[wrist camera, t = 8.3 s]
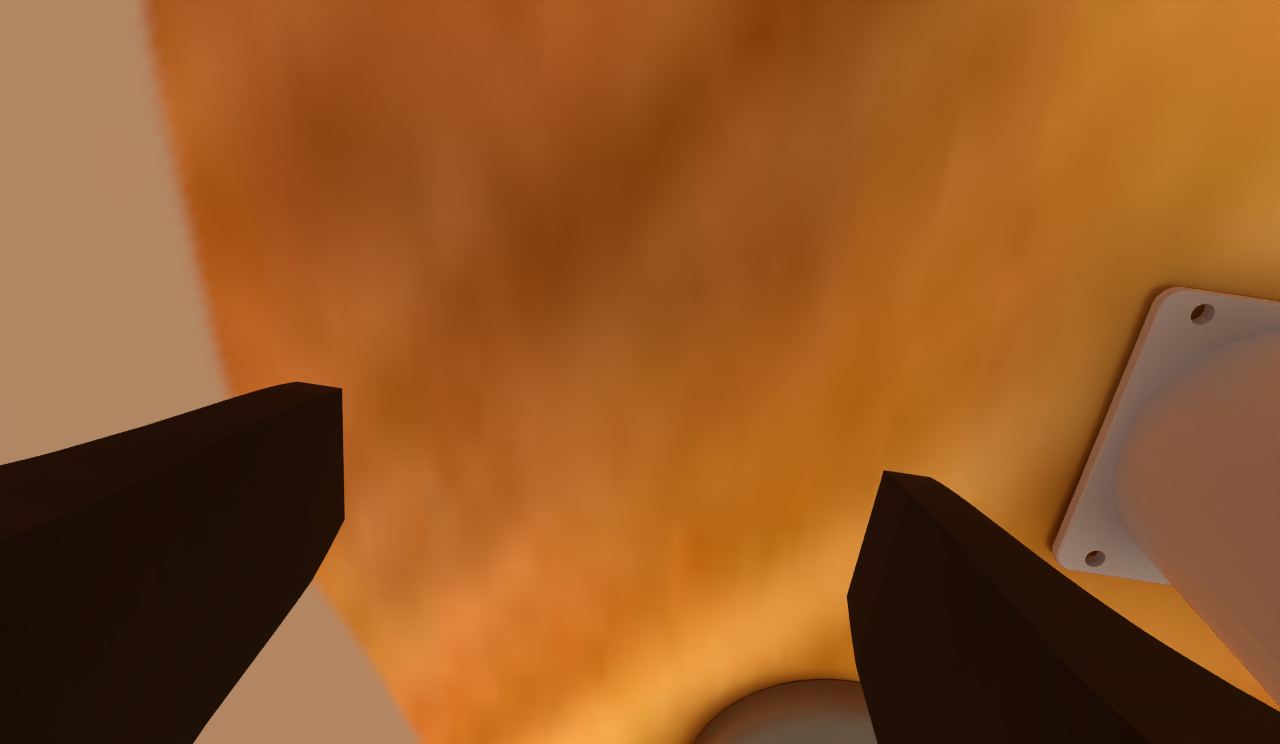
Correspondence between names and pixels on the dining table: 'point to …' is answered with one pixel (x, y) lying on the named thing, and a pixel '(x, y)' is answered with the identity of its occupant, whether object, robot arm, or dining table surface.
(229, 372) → the dining table surface
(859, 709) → the slate trivet
